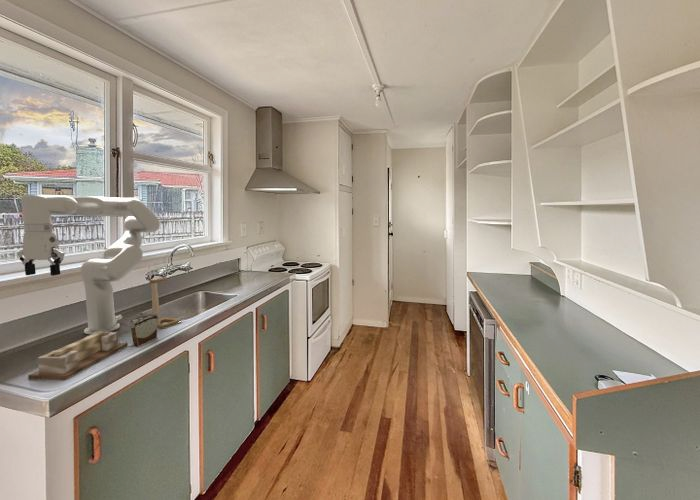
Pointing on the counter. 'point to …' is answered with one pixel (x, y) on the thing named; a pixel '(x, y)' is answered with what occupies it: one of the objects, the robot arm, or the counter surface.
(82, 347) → the slat
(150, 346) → the counter surface
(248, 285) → the counter surface
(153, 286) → the headphone stand
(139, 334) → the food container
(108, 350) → the board
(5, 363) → the counter surface
